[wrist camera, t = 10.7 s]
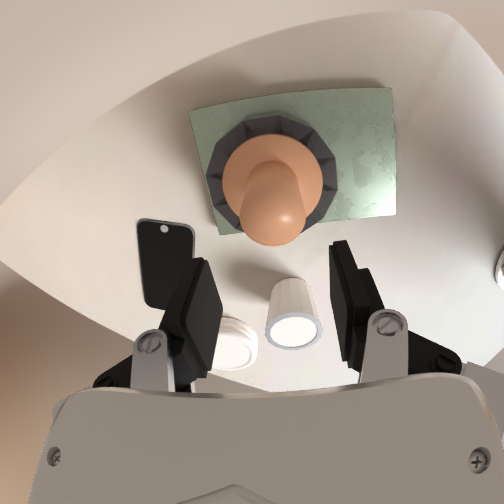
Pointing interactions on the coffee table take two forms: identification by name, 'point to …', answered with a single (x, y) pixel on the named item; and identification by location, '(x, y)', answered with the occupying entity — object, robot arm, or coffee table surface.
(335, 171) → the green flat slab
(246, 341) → the white short cylinder
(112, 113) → the coffee table surface
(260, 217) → the cap
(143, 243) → the smartphone
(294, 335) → the white grey cylinder
